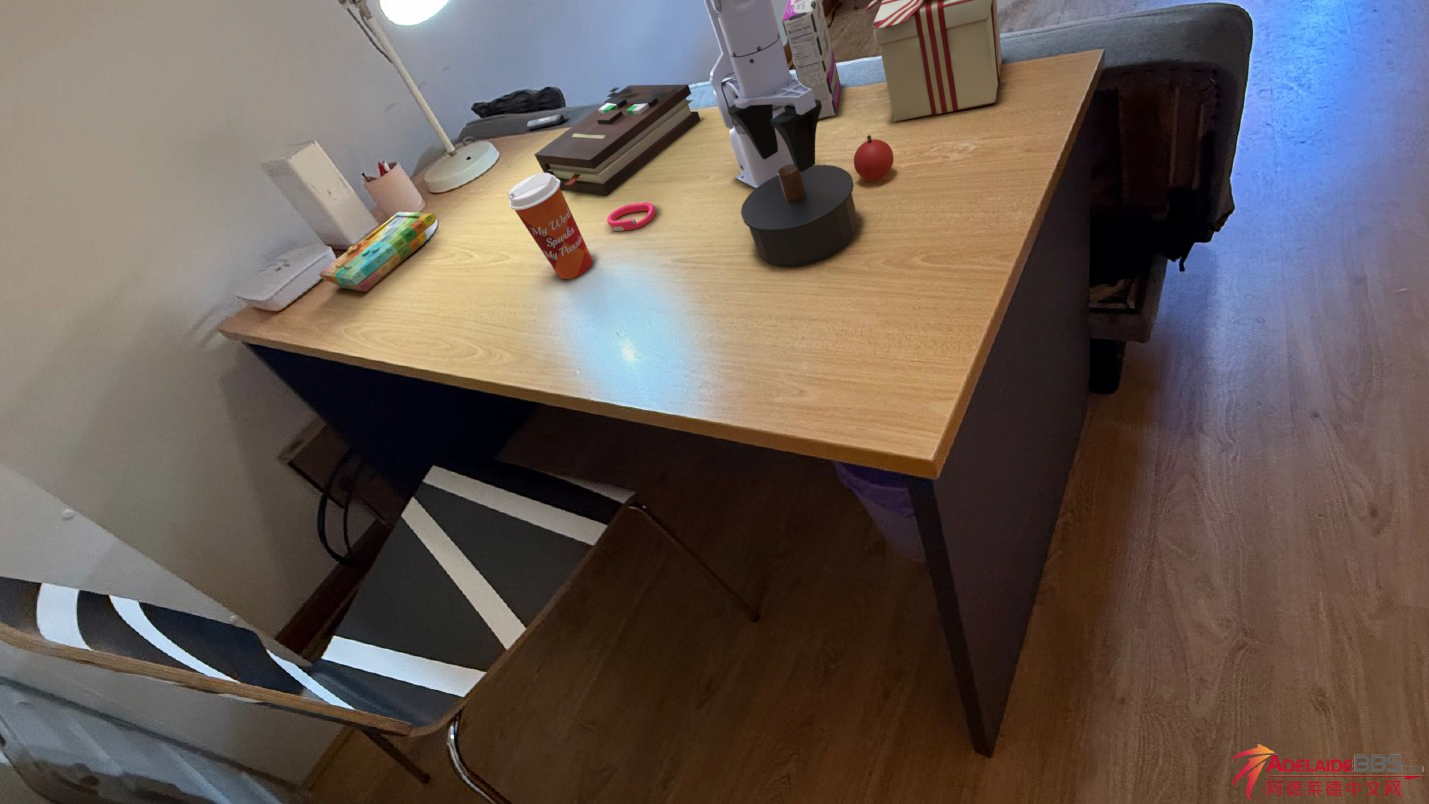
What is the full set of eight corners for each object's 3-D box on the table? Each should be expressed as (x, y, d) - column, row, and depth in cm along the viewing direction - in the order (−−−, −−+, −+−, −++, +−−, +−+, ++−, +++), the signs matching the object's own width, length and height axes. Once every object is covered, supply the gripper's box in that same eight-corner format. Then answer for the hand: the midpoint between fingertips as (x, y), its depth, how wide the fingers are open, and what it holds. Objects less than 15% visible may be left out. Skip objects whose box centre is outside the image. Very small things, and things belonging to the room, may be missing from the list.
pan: (740, 246, 96) (727, 211, 93) (818, 197, 99) (808, 161, 95) (794, 280, 87) (782, 242, 83) (879, 225, 89) (871, 186, 85)
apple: (850, 182, 99) (840, 140, 95) (879, 163, 100) (871, 121, 96) (874, 191, 95) (865, 149, 91) (904, 172, 96) (897, 129, 92)
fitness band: (603, 232, 113) (599, 224, 112) (619, 211, 116) (616, 203, 115) (646, 228, 109) (642, 220, 108) (662, 207, 112) (658, 198, 111)
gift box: (881, 85, 117) (861, -29, 106) (1002, 57, 110) (994, -68, 99) (871, 135, 106) (847, 14, 95) (1005, 108, 99) (997, -27, 88)
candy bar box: (812, 94, 124) (788, -7, 113) (841, 86, 122) (819, -16, 111) (807, 123, 116) (780, 19, 106) (837, 116, 114) (813, 9, 104)
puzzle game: (315, 270, 130) (396, 207, 140) (332, 290, 133) (411, 228, 143) (347, 275, 123) (430, 209, 133) (364, 296, 126) (444, 230, 136)
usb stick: (527, 131, 162) (524, 125, 161) (532, 125, 163) (529, 119, 162) (560, 124, 157) (557, 117, 156) (566, 118, 159) (562, 112, 158)
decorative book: (518, 156, 128) (631, 75, 140) (538, 193, 133) (646, 112, 145) (581, 163, 116) (699, 73, 128) (601, 204, 121) (713, 113, 133)
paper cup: (561, 290, 104) (512, 207, 95) (546, 271, 110) (499, 191, 101) (607, 263, 105) (562, 178, 96) (590, 246, 111) (547, 164, 102)
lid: (723, 215, 93) (712, 183, 90) (810, 162, 96) (802, 129, 93) (782, 250, 83) (771, 215, 80) (878, 189, 85) (871, 153, 82)
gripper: (692, 56, 81) (729, 165, 90) (761, 68, 70) (797, 191, 79) (741, 28, 83) (774, 138, 91) (817, 35, 72) (846, 160, 80)
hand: (787, 161), depth 85 cm, fingers open, 7 cm apart
